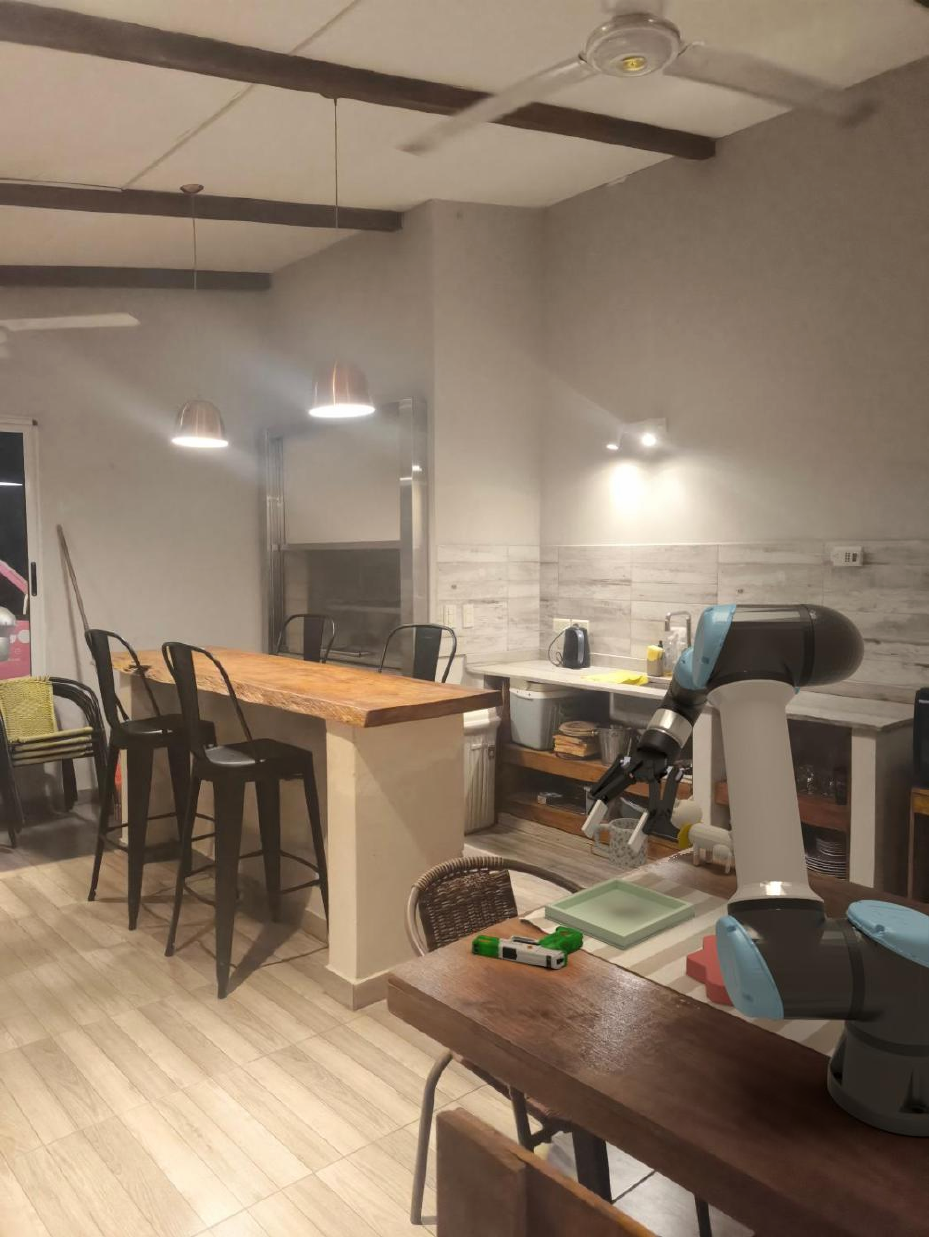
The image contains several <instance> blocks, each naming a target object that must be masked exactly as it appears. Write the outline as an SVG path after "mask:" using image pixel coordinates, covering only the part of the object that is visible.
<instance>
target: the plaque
mask: <svg viewBox="0 0 929 1237" xmlns="http://www.w3.org/2000/svg"><path fill="white" fill-rule="evenodd" d="M716 941H717V939H716V934H710V935H709V934H708V935H705V936H704V937H703V938H702V949H699V950H696V951H694V952H691V953H689V954H686V962H685V963H686V964H685V965H686V966H685V967H686V968H685V974H686V975H688V976H689V977H691V978H693V979H695V980H696V981H699V982H700V983H702V984H704V985H705V991H706V992H705V993H706V998H707V999H708V1000H710V1001H711V1002H713V1003H717V1004H721V1005H731V1006H734V1005H733V1003H732V1001H731V999H730V997H729V995H728V992H727V990H726V987H725V984H724V981H723V978H722V974H721V970H720V965H719V961H718V955H717V948H716Z"/></svg>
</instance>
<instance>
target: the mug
mask: <svg viewBox="0 0 929 1237" xmlns="http://www.w3.org/2000/svg"><path fill="white" fill-rule="evenodd" d="M639 821H640V819H637V818H630V817H623V818H621V817H620V818H616V819H612V820H610V821H609V823H600V824H597V825H596V827H595V833H594V834H593V837H594V839H593V840H594V844H595V848H597V849H598V850H600V851H602V852H603V853H606V854H609V861H610V863H612V864H614V865H616V866H620V867H624V868H625V867H626V868H628V867H629V868H633V867H634V868H635V867H642V866H644V865H646V864H647V863H648V835H647V836H646V838H645V840H644V842H643V844H642V846H641V848H640V849H639V851H638V853H637V852H634V851H633V850H632V848H631V847H630V846H629V845H628V842H629V840H630V838H631V836H632V834H633V832H634V830H635V828H636V827H637V825H638V823H639ZM602 830H605V831H608V832H609V845H604V844H602V843H601V837H600V836H601V835H600V834H601V831H602Z"/></svg>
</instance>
